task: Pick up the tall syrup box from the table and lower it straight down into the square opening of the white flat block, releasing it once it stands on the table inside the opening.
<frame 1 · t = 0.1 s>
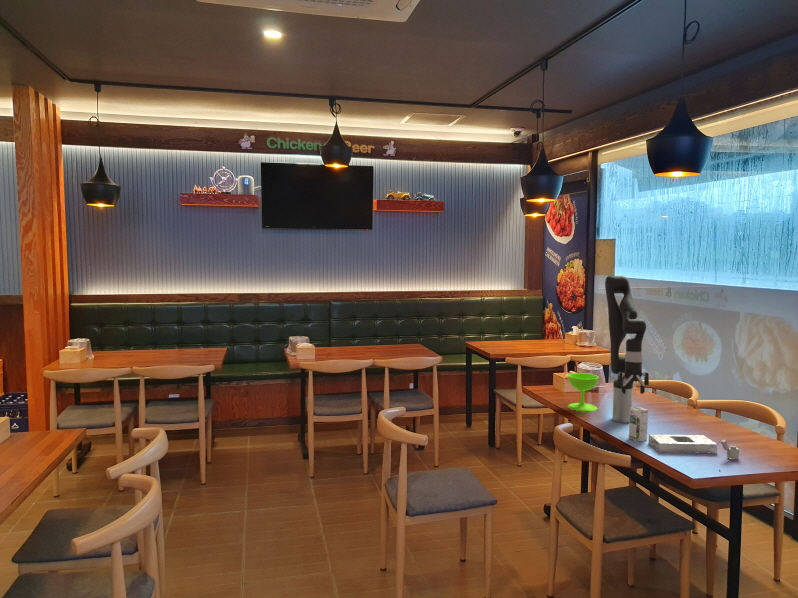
hand: (632, 393, 275), 17 cm above the table, tool pointing down, fingers open, 8 cm apart
syrup box: (637, 439, 261), on the table
white flat block: (681, 448, 249), on the table
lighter: (729, 459, 236), on the table
wineglass: (582, 408, 313), on the table
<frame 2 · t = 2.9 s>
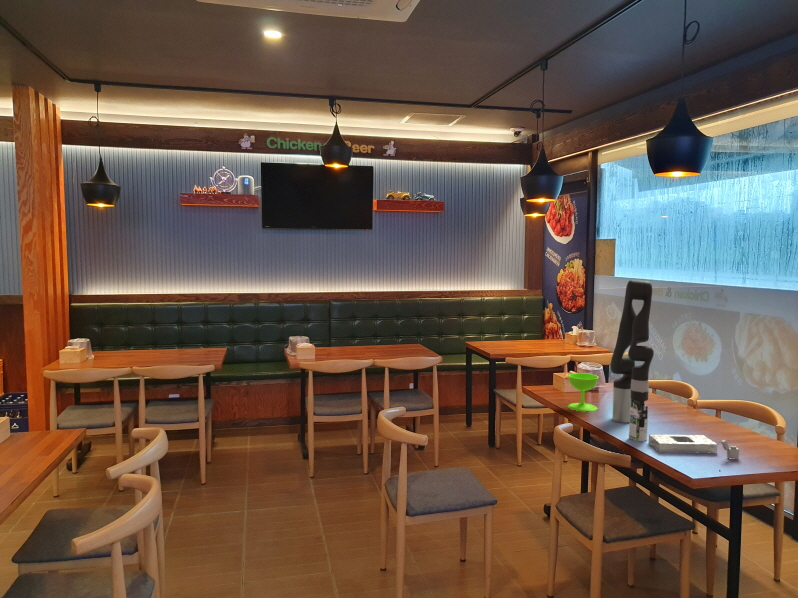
hand: (638, 424, 260), 7 cm above the table, tool pointing down, fingers closed on syrup box, 7 cm apart
syrup box: (637, 439, 261), on the table, touching gripper
everything else where it was.
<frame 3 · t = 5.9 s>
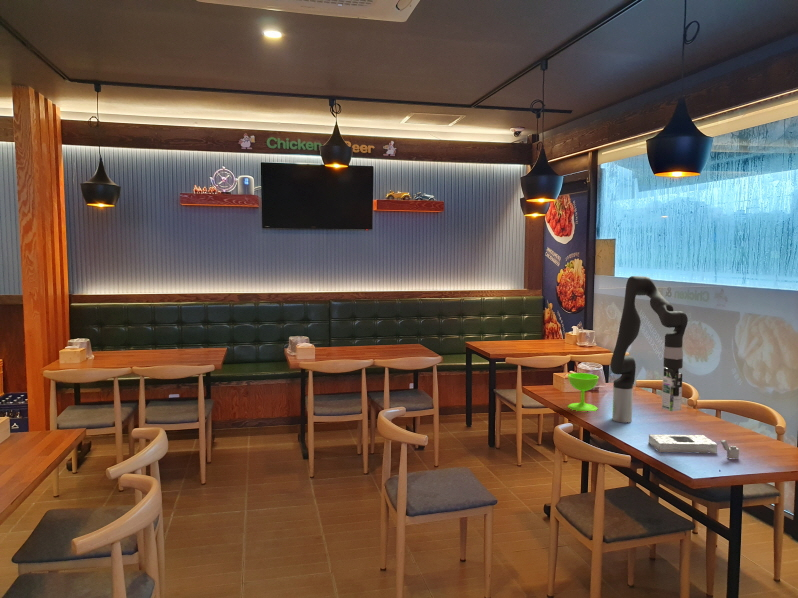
hand: (672, 393, 250), 24 cm above the table, tool pointing down, fingers closed on syrup box, 7 cm apart
syrup box: (671, 410, 250), point 16 cm above the table, touching gripper
everything else where it was.
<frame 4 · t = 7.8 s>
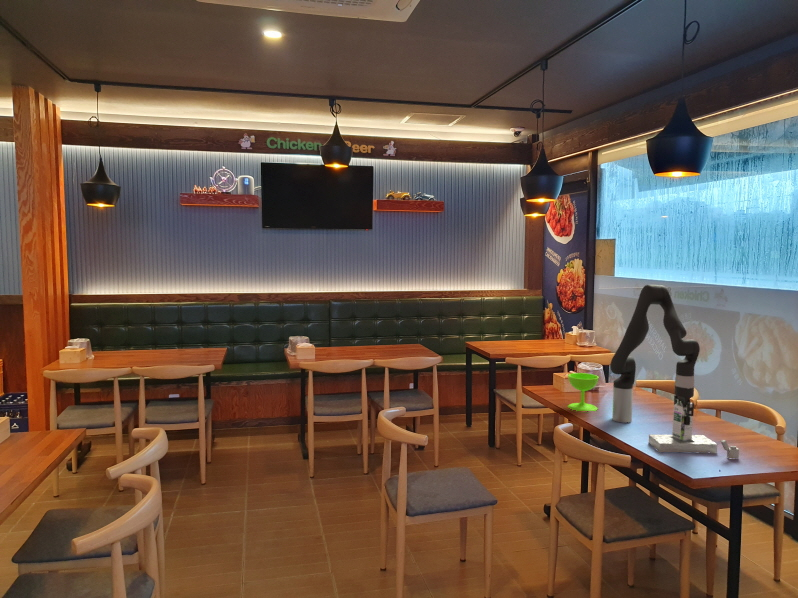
hand: (682, 422, 248), 12 cm above the table, tool pointing down, fingers closed on syrup box, 7 cm apart
syrup box: (681, 438, 249), point 4 cm above the table, touching gripper
everything else where it was.
when the fingers open (8 cm above the table, at t = 9.2 s): syrup box stays where it is, resting in white flat block.
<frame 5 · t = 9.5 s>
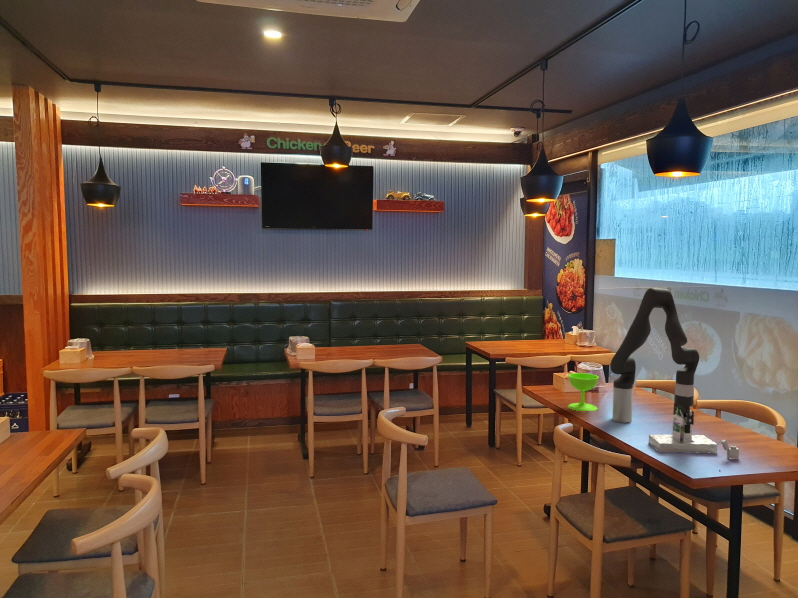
hand: (682, 430, 248), 8 cm above the table, tool pointing down, fingers open, 8 cm apart
syrup box: (681, 448, 249), resting in white flat block
everything else where it was.
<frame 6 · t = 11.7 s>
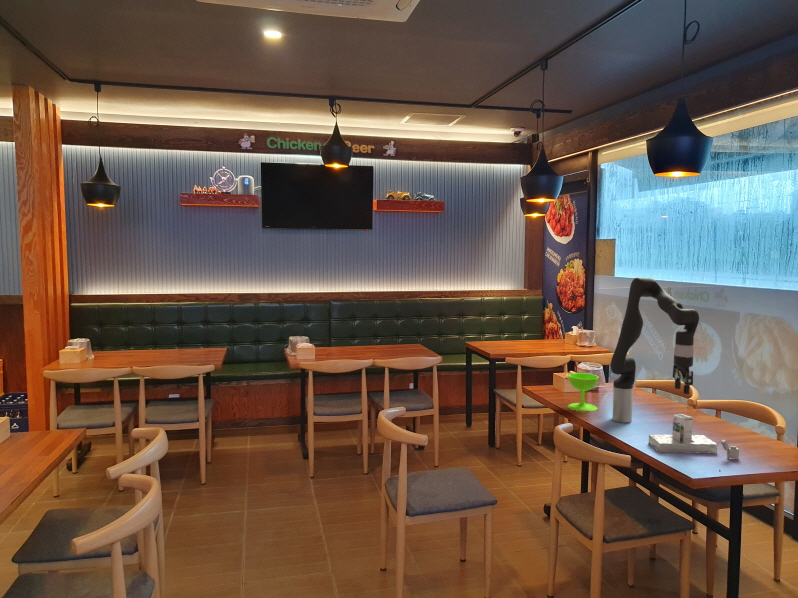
hand: (681, 391, 248), 25 cm above the table, tool pointing down, fingers open, 8 cm apart
nothing on the table moved.
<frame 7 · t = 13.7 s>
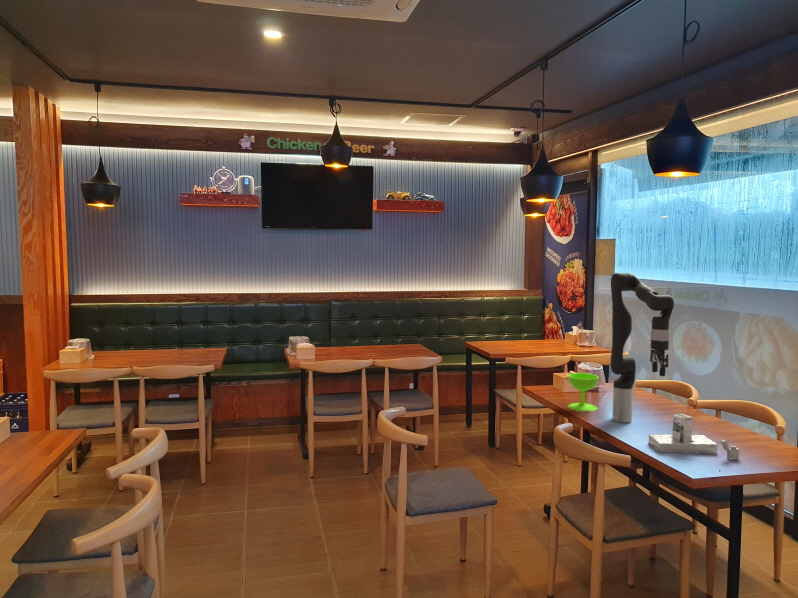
hand: (658, 374, 260), 30 cm above the table, tool pointing down, fingers open, 8 cm apart
nothing on the table moved.
at the end: syrup box 0.3 cm off-centre on the white flat block, point 0.0 cm above the white flat block's base; syrup box tilted 0°; the gripper is holding nothing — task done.
